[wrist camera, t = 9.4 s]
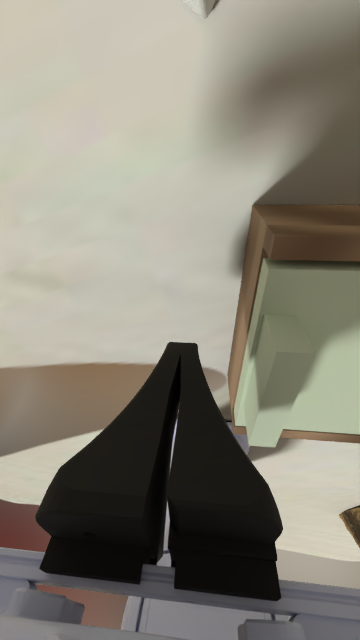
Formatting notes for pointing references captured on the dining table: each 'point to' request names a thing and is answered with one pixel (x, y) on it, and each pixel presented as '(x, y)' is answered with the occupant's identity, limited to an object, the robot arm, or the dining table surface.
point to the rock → (352, 522)
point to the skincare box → (201, 6)
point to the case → (290, 244)
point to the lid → (302, 351)
